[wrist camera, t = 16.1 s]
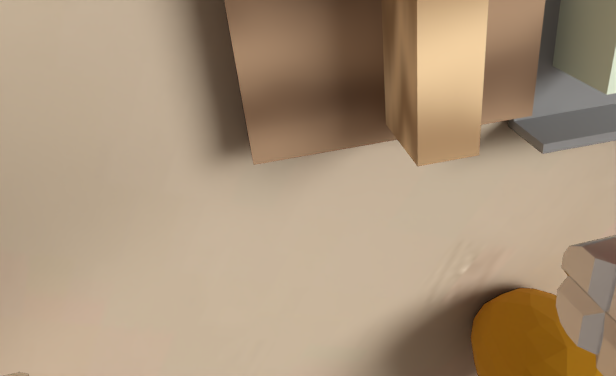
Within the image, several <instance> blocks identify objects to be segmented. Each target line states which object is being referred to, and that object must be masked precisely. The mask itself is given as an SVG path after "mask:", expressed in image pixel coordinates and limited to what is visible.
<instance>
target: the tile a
mask: <svg viewBox="0 0 616 376" xmlns="http://www.w3.org/2000/svg"><path fill="white" fill-rule="evenodd" d="M552 66H554V67H555V68H557V69H559V70H561V71H563V72H565V73H567V74H569V75H570V76H572V77H574V78H576V79H578V80H580V81H582V82H584V83H586V84H587V85H589V86H591V87H593V88H595V89H597V90H599V91H601V92H602V93H604V94H606V95H608V94H614V93H616V0H561V3H560V10H559V18H558V26H557V34H556V42H555V50H554V57H553V65H552Z"/></svg>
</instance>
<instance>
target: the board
mask: <svg viewBox="0 0 616 376" xmlns="http://www.w3.org/2000/svg"><path fill="white" fill-rule="evenodd" d="M224 3H225V9H226V14H227V20H228V26H229V31H230V37H231V42H232V48H233V53H234V59H235V65H236V70H237V76H238V81H239V87H240V92H241V98H242V104H243V109H244V115H245V120H246V126H247V131H248V137H249V142H250V148H251V153H252V158H253V164H254V165H255V164H261V163H267V162H272V161H278V160H284V159H289V158H295V157H301V156H306V155H312V154H318V153H323V152H329V151H335V150H341V149H346V148H352V147H358V146H363V145H369V144H375V143H380V142H386V141H392V140H397V138H396V137H395V136H394V134H393V133H392V132H391V130H390V129H389V128H388V126H387V125H386V113H385V85H384V57H383V30H382V2H381V0H224ZM544 8H545V0H489V3H488V19H487V35H486V51H485V67H484V83H483V99H482V115H481V125H483V124H488V123H494V122H500V121H506V120H511V119H517V118H523V117H528V116H532V112H533V104H534V95H535V86H536V78H537V69H538V60H539V52H540V43H541V34H542V26H543V17H544Z"/></svg>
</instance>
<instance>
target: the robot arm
mask: <svg viewBox="0 0 616 376" xmlns="http://www.w3.org/2000/svg"><path fill="white" fill-rule="evenodd" d="M561 267H562V269H563V270H564V271H565V272H566V274H567V275H568V277H567V278H566V279H565V280H564V282H563V283H562V284H561V285H560V287H559V288H558V289H557V298H556V309H557V312H558V316H559V320H560V323H561V325H562V326H563V328H564V330H565V332H566V334H567V335H568V336H569V337H570V338H571V340H572V341H573V342H574V343H575V344H576V345H577V346H578V347H580V348H582V349H585V350H587V351H589V352H591V353H593V354H596V368H597V369H598V370H599V371H600V372H601V374H602V375H603V376H616V235H613V236H609V237H605V238H601V239H597V240H592V241H588V242H584V243H580V244H576V245H571V246H569V247H568V249H567V250H566V251H565V253H564V255H563V260H562V265H561ZM3 376H29V374H28V373H22V372H18V373H13V374H8V375H3Z"/></svg>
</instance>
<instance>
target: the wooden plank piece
mask: <svg viewBox="0 0 616 376" xmlns="http://www.w3.org/2000/svg"><path fill="white" fill-rule="evenodd" d="M381 2H382V30H383V57H384V85H385V113H386V125H387V126H388V128H389V129H390V130H391V132H392V133H393V134H394V136H395V137H396V138H397V140H398V141H399V142H400V144H401V145H402V146H403V148H404V149H405V150H406V152H407V153H408V154H409V155H410V157H411V158H412V159H413V161H414V162H415V163H416V165H417V166H422V165H427V164H433V163H438V162H444V161H449V160H455V159H460V158H466V157H471V156H477V155H479V147H480V131H481V115H482V99H483V83H484V67H485V51H486V35H487V19H488V3H489V0H381Z"/></svg>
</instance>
